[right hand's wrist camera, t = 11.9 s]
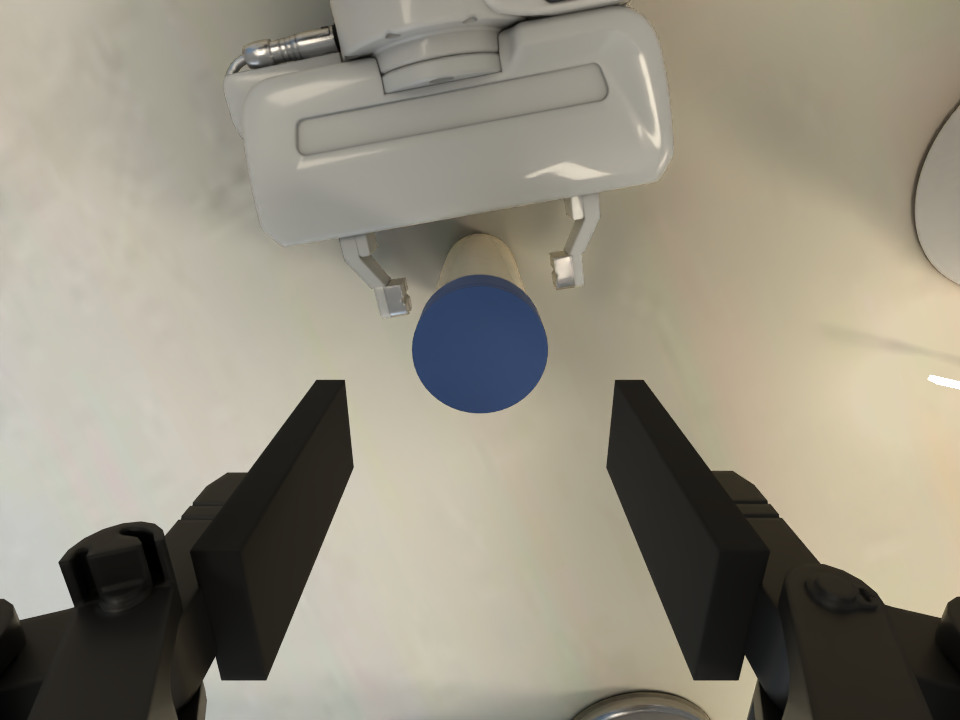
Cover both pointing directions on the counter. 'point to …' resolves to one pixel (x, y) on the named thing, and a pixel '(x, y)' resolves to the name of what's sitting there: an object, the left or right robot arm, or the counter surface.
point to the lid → (480, 344)
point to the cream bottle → (480, 260)
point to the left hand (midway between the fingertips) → (482, 300)
